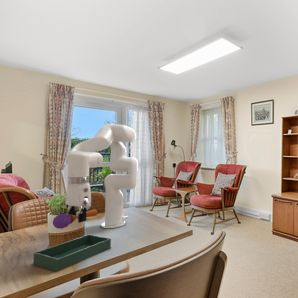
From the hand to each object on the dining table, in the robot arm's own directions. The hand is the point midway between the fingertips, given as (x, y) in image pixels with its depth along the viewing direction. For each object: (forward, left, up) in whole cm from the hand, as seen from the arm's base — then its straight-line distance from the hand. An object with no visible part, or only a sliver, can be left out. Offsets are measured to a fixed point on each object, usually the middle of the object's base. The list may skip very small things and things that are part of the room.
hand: (77, 220), depth 102 cm
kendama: (0, 0, -1) cm, 1 cm away
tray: (+1, +1, -15) cm, 15 cm away
